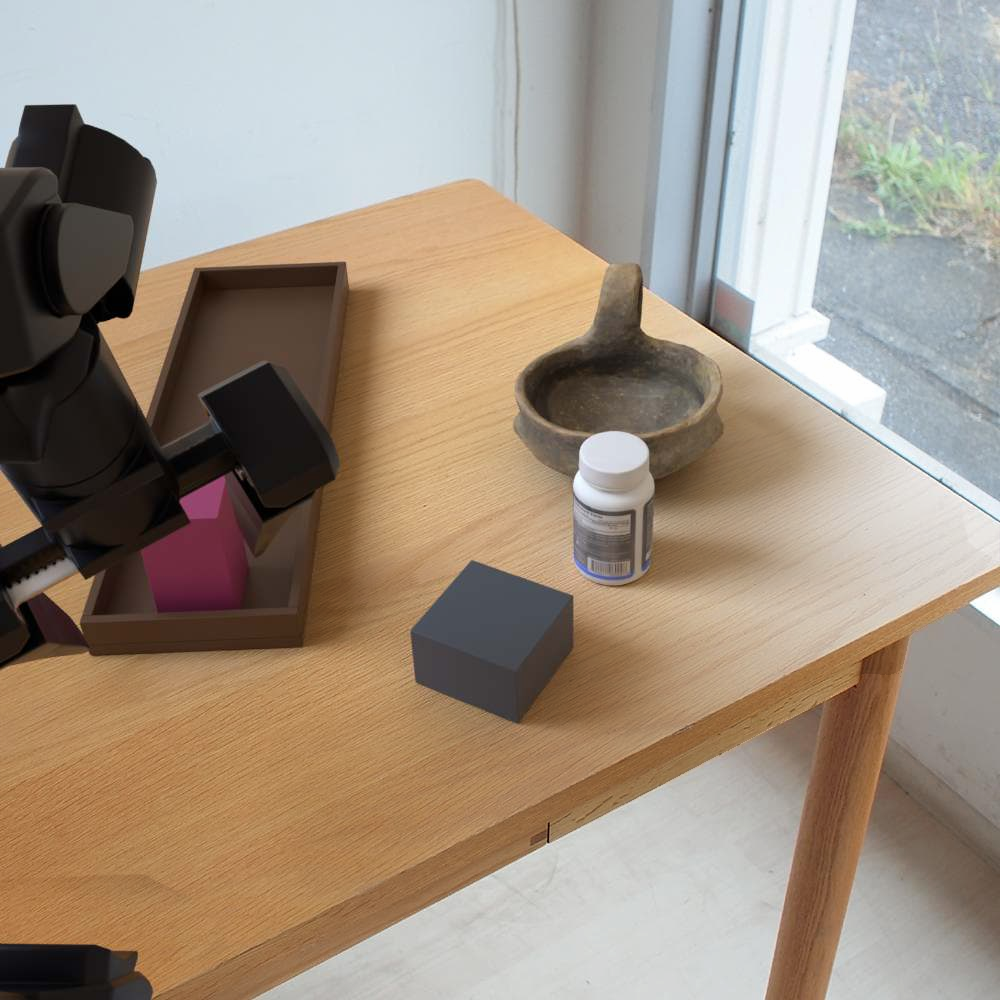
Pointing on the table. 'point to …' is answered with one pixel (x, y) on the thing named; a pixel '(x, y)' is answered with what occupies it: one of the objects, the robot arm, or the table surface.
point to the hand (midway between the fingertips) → (169, 595)
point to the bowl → (619, 388)
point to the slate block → (493, 640)
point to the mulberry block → (200, 557)
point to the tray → (177, 411)
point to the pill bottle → (613, 509)
